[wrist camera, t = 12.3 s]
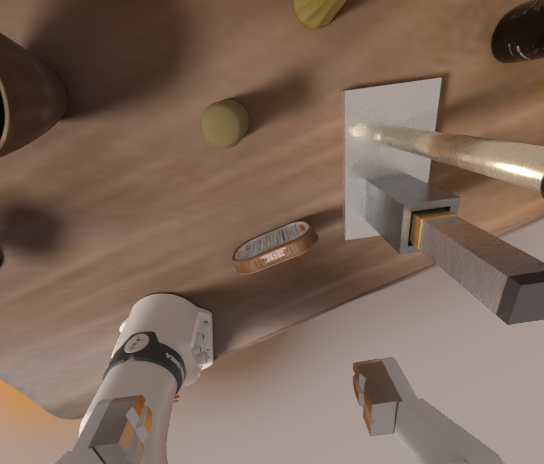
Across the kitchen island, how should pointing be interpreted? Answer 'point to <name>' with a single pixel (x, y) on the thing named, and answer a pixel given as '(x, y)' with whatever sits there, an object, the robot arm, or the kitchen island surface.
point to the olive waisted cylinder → (225, 123)
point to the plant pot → (26, 97)
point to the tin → (274, 247)
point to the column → (482, 264)
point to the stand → (412, 159)
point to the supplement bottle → (520, 34)
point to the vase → (317, 11)
